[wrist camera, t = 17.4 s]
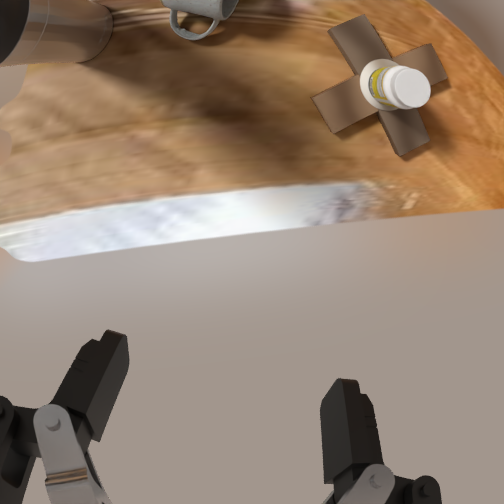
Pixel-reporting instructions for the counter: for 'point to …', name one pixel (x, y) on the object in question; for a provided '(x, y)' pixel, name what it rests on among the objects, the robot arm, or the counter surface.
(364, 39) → the walnut cross joint
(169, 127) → the counter surface
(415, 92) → the supplement bottle
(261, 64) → the counter surface
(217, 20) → the ceramic mug
